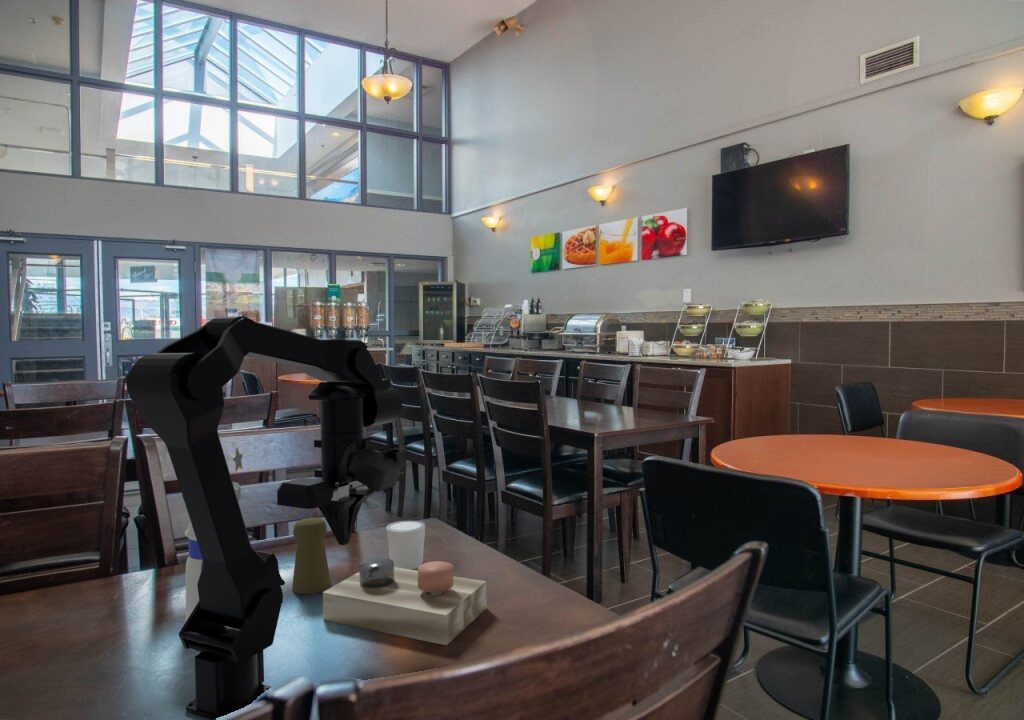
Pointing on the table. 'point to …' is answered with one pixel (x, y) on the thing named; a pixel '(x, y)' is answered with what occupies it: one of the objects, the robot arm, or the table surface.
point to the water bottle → (195, 557)
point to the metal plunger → (376, 572)
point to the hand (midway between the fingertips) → (343, 544)
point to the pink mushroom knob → (435, 577)
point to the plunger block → (406, 606)
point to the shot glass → (406, 543)
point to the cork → (310, 557)
